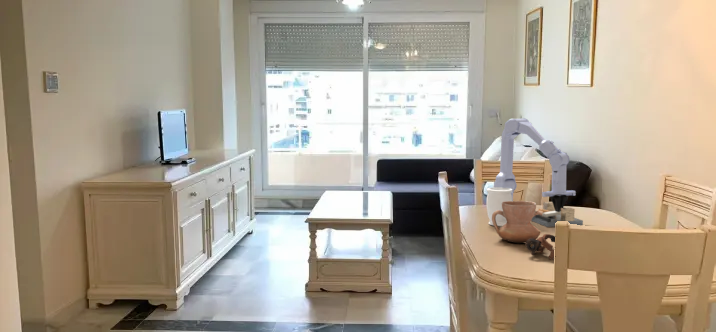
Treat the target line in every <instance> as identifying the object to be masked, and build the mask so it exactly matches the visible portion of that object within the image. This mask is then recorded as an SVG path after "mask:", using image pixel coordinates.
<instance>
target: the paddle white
mask: <svg viewBox="0 0 716 332" xmlns="http://www.w3.org/2000/svg"><path fill="white" fill-rule="evenodd" d="M555 215H561V211H560V212H557V211H550V212H544V213H543V214H542V216H545V217H552V218H554V217H555Z"/></svg>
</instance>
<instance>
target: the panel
mask: <svg viewBox="0 0 716 332" xmlns="http://www.w3.org/2000/svg"><path fill="white" fill-rule="evenodd" d="M542 204H543V205H542V209H543V210H548V211H555V208H554V205H553V203H552V201H543V202H542ZM575 211H576V209H575V208H573V207H563V208H561V215H556V216H555V217H554V218H552V217H545V216H542V215H540V214H538V215H535V216H534V217H533V218H532V220H531V222H533V223H536V224H538V225H541V226H544V227H546V228H553V227H554V226H555V223H556V222H557V221H568V222H569V223H570V224H577V225H580V226H583V225H584V220H583V219H579V218H577V217H575ZM554 228H555V227H554Z"/></svg>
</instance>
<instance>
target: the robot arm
mask: <svg viewBox="0 0 716 332" xmlns="http://www.w3.org/2000/svg"><path fill="white" fill-rule="evenodd" d="M521 134H522V135H527V136H528V137H529V138H530V139H531V140H532V141H533V142H535V144H537V145H538V147H539V148H538V149H539V151H540V152H541V153H542V154H543V155H544V156H546V158H547V159H548V162H549V165H550V167H551V190H547V191H541V197H543V198H547V197H549V199H550V200H551V202H552V203H553V205H554V208H555V211H557V212H560V211H561V208H565V204H566V203H567V201H568V199H569V196H576V193H577V192H576V190H572V189H571V190H567V165H568V164H569V163H570V157H569V155H568V153H567V152H564V151H562V150H561V148H558V147H557V146H556V145H555V143H554V141H552V140H549V139H545V138H544V137H543V136H542V134H540V132H538V131H537V129H536V128H535V127H534V125H533V123H532V122H531V121H529V120H528V119H527V118H525V117H522V118H512V117H511V118H510V119H507V121H505V123H504V128H503V130H502V132H501V142H500V145H501V146H500V162H499V163H500V166H499V173H498V174H497V175H496V176H495V181H494V182H493V187H502V188H510V189H512V192H511V196H512V201H514V193H515V190H517V182H516V175H514V173H513V166H514V165H513V164H514V163H513V162H514V148H515V145H514V143H515V138H517V137H518V136H519V135H521Z"/></svg>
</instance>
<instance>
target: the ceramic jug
mask: <svg viewBox="0 0 716 332" xmlns="http://www.w3.org/2000/svg"><path fill="white" fill-rule="evenodd" d="M536 208H537V203H536V202H534V201H530V200H528V201H526V200H516V201H515V200H513V201H505V202H502V209H503V211H500V210H497V211H495V212H494V213H493V214H492V222H493V225H494V226H493V225H492V226H493V227H494V229H495V230H496V233H497V235H498V236H499V237H500V238H501V239H502V240H504V241H506V242H510V243H515V244H516V243H517V244H526V241H527V240H528V239H535V240H537V239H538V238H539V237H540V235H541V232H542V231H541V230H539V229H538V228H537V227H536V226H534V225H533V224H532V223H531V222H532V221H531V220H532V218H533V217H534V216H535V215H538V214H540V215H542V214H543V212H542V211H538V210H536ZM497 214H500V215H502V216H503V217H505V218H506V220H507V223H506V224H505V225H503V226H497V223H496V215H497Z"/></svg>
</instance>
